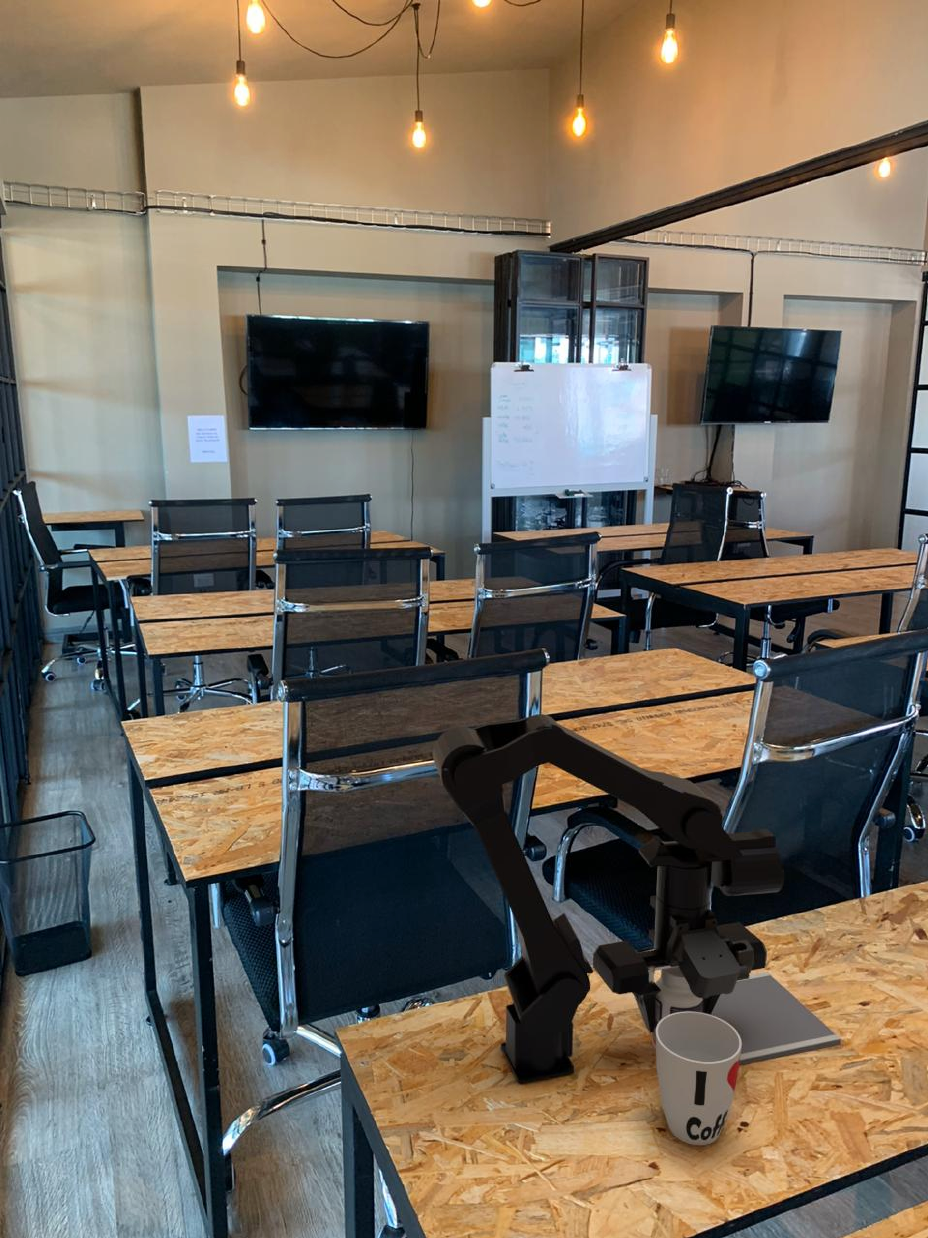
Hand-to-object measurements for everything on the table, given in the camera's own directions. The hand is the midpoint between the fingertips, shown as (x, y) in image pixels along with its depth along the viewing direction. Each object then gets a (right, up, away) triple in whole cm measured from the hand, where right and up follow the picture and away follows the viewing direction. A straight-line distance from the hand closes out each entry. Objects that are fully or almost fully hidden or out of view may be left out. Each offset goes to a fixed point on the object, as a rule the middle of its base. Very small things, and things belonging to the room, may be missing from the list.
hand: (676, 1025), depth 104 cm
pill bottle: (0, -3, +1) cm, 3 cm away
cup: (-1, -5, -12) cm, 13 cm away
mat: (+10, -2, +5) cm, 11 cm away
